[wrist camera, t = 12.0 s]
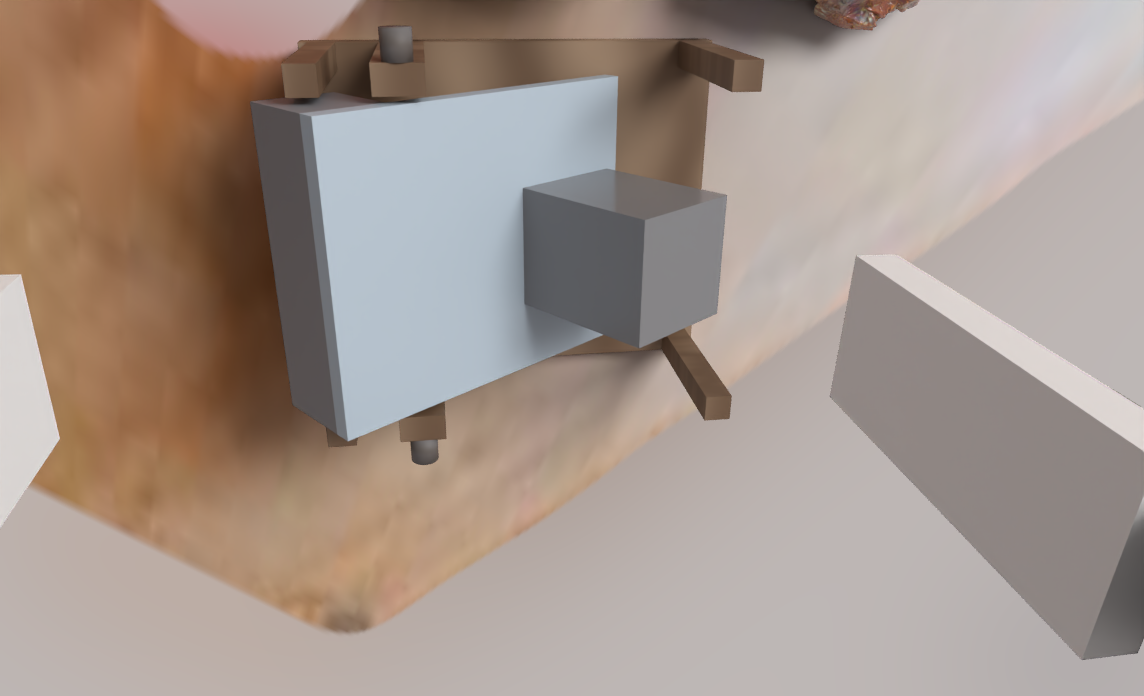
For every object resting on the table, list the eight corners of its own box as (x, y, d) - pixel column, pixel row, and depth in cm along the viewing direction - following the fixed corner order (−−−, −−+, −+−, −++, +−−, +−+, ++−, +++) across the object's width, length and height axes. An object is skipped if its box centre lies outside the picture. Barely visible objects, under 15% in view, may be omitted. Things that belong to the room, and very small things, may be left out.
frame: (339, 380, 46) (321, 472, 38) (297, 12, 39) (264, 28, 31) (683, 359, 49) (736, 441, 41) (707, 12, 42) (778, 27, 33)
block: (524, 304, 41) (639, 348, 36) (522, 187, 38) (645, 220, 34) (603, 276, 44) (716, 313, 40) (606, 168, 42) (726, 195, 37)
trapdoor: (292, 405, 38) (347, 441, 35) (249, 101, 33) (311, 116, 30) (551, 309, 49) (610, 331, 46) (551, 67, 43) (618, 76, 41)
